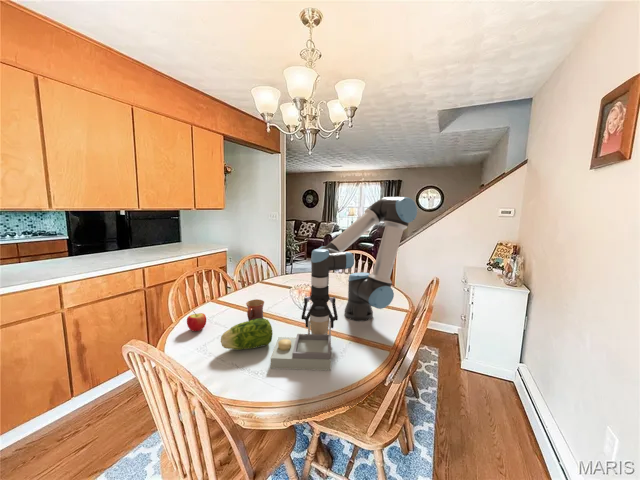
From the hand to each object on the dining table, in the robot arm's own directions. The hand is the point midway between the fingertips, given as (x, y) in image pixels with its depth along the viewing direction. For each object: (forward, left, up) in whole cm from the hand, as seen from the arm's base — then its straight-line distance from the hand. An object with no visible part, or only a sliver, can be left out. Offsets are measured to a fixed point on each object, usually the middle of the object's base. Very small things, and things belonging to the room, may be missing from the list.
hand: (319, 334), depth 117 cm
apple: (+58, -5, -3) cm, 58 cm away
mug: (+33, -13, -3) cm, 36 cm away
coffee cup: (0, 0, -3) cm, 3 cm away
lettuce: (+30, +8, -3) cm, 31 cm away
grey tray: (+6, +14, -2) cm, 15 cm away
